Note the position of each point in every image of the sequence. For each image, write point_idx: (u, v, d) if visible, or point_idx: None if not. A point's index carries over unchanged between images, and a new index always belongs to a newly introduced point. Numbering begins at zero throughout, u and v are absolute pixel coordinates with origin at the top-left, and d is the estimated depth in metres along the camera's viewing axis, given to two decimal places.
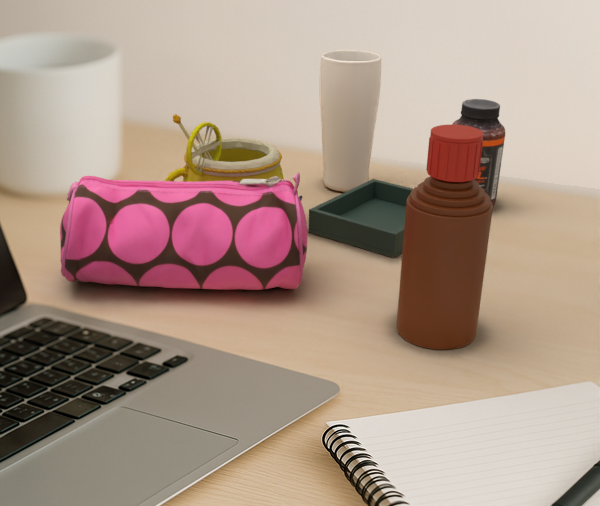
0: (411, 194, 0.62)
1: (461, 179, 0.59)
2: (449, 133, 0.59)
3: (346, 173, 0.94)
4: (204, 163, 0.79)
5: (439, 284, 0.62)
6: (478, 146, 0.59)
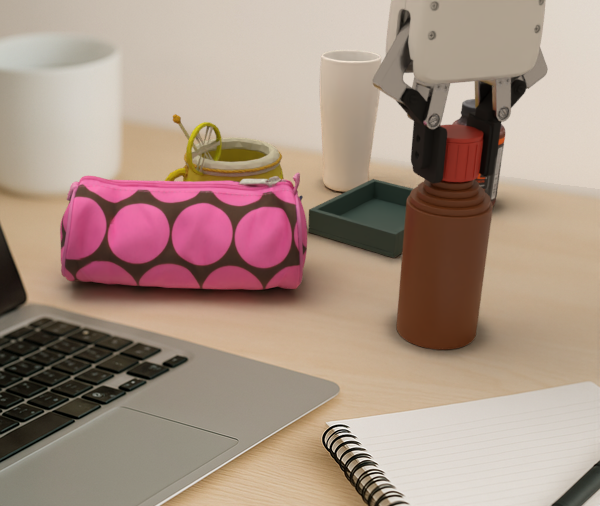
0: (411, 194, 0.62)
1: (461, 179, 0.59)
2: (449, 133, 0.59)
3: (346, 173, 0.94)
4: (204, 163, 0.79)
5: (439, 284, 0.62)
6: (478, 146, 0.59)
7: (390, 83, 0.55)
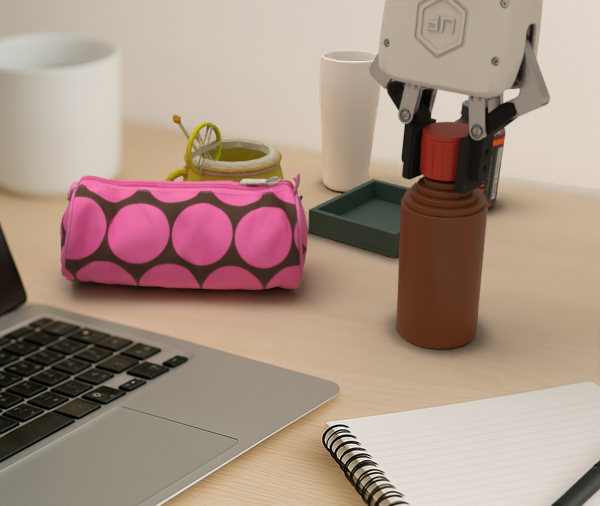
0: (405, 195, 0.62)
1: None
2: (460, 130, 0.59)
3: (346, 173, 0.94)
4: (204, 163, 0.79)
5: (436, 284, 0.62)
6: None
7: None
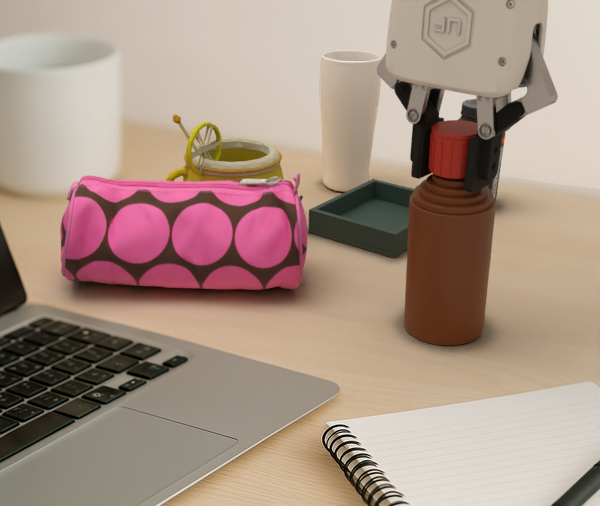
0: (414, 193, 0.62)
1: None
2: (469, 128, 0.59)
3: (346, 173, 0.94)
4: (204, 163, 0.79)
5: (444, 281, 0.62)
6: None
7: None
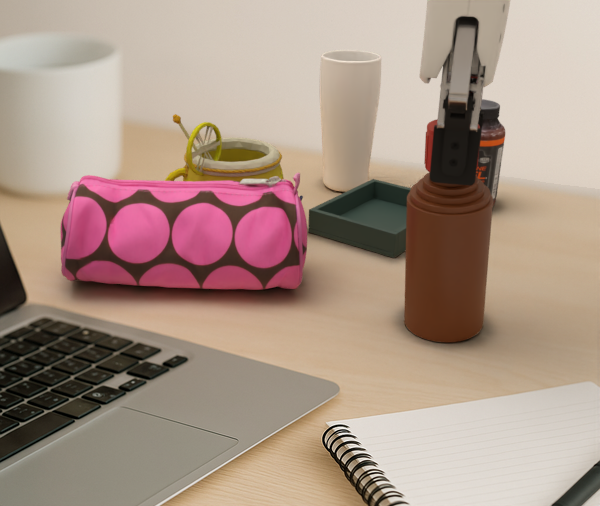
0: (411, 193, 0.62)
1: None
2: None
3: (346, 173, 0.94)
4: (204, 163, 0.79)
5: (445, 280, 0.62)
6: None
7: (468, 94, 0.52)
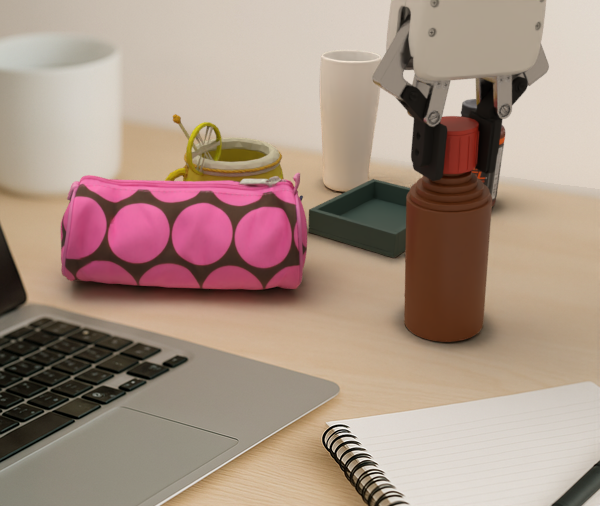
0: (411, 191, 0.62)
1: None
2: (448, 120, 0.61)
3: (346, 173, 0.94)
4: (204, 163, 0.79)
5: (445, 278, 0.62)
6: None
7: (390, 80, 0.55)
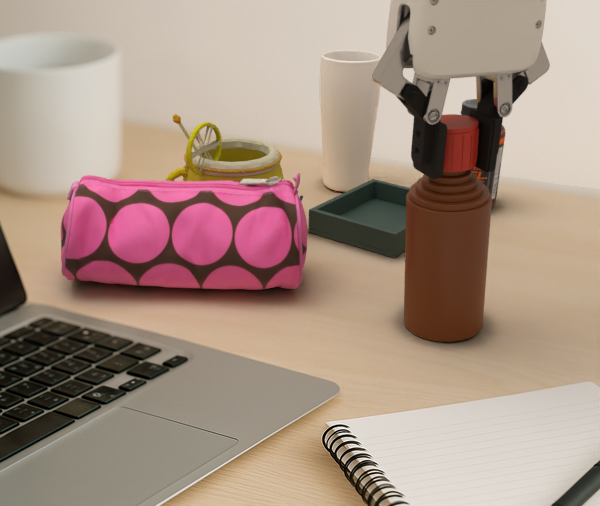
0: (410, 191, 0.62)
1: (457, 169, 0.60)
2: None
3: (346, 173, 0.94)
4: (204, 163, 0.79)
5: (445, 278, 0.62)
6: (473, 135, 0.59)
7: (389, 78, 0.55)
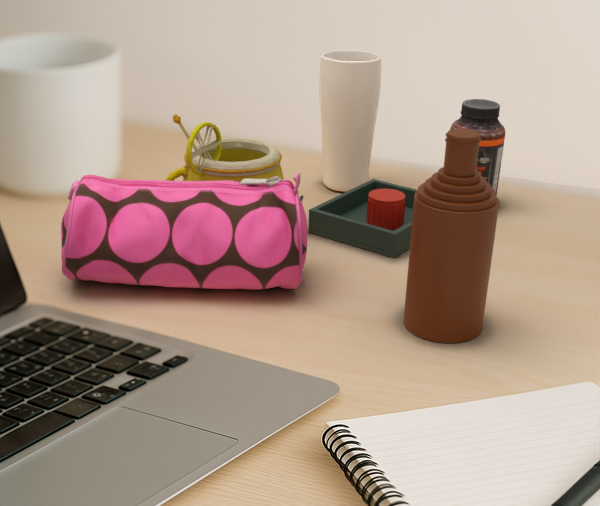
0: (419, 190, 0.63)
1: None
2: (392, 192, 0.85)
3: (346, 173, 0.94)
4: (204, 163, 0.79)
5: (449, 278, 0.63)
6: None
7: None
